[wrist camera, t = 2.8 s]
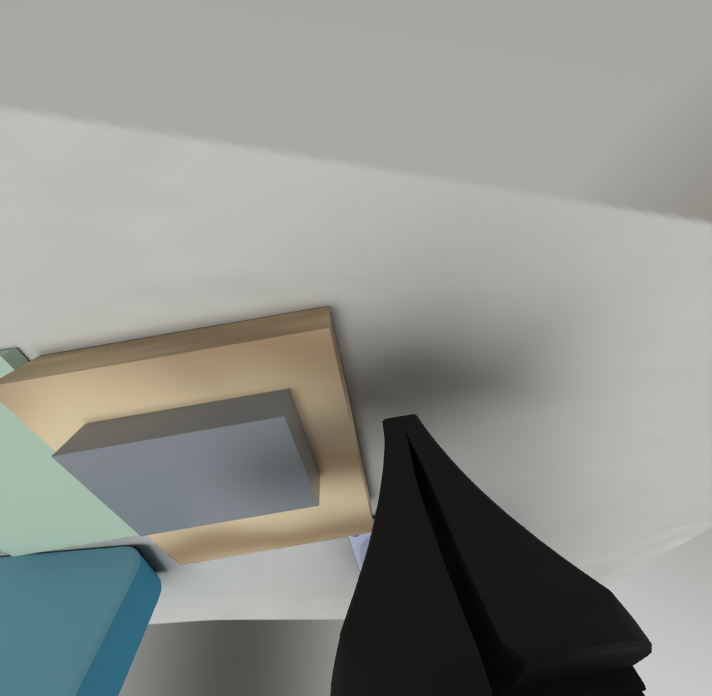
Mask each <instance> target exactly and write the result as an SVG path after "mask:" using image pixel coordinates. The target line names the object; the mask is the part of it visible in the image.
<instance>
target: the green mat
mask: <svg viewBox="0 0 712 696" xmlns="http://www.w3.org/2000/svg"><path fill="white" fill-rule="evenodd" d="M28 362H29V361H28V360H27V359H26V358H25V357H24V355H23V354H22V353H21V352H20V351H19V350H18V349H17V348H14V349H8V350H2V351H0V378H2V377H3V376H5V375H7V374H9V373H10V372H12V371H14V370H16V369H17V368H19V367H21V366H23V365H24V364H26V363H28ZM54 453H55V451H54V450H53V449H52V448H51V447H50V446H49V445H47V444H46V443H45V442H44V441H43V440H42V439H41V438H40V437H39V436H38V435H37V434H35V433H34V432H33V431H32V430H31V429H30V428H29V427H28V426H27V425H26V424H24V423H23V422H22V421H21V420H20V419H19V418H18V417H17V416H16V415H15V414H14V413H12V412H11V411H10V410H9V409H8V408H7V407H6V406H5V405H4V404H3V403H1V402H0V550H2V551H4V552H5V553H7V554H9V555H11V556H12V557H14V556H20V555H26V554H32V553H38V552H43V551H49V550H55V549H61V548H67V547H72V546H78V545H84V544H90V543H96V542H101V541H107V540H113V539H119V538H125V537H130V536H136V535H139V534H138V533H136V532H135V531H134V530H133V529H132V528H131V527H130V526H129V525H127V524H126V523H125V522H124V521H123V520H122V519H121V518H120V517H118V516H117V515H116V514H115V513H114V512H113V511H112V510H111V509H109V508H108V507H107V506H106V505H105V504H104V503H103V502H102V501H100V500H99V499H98V498H97V497H96V496H95V495H94V494H93V493H91V492H90V491H89V490H88V489H87V488H86V487H85V486H84V485H83V484H81V483H80V482H79V481H78V480H77V479H76V478H75V477H74V476H72V475H71V474H70V473H69V472H68V471H67V470H66V469H65V468H63V467H62V466H61V465H60V464H59V463H58V462H57V461H56V460H54V459H53V458H52V457H51V456H52V455H53V454H54Z"/></svg>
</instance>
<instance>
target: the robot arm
mask: <svg viewBox="0 0 712 696" xmlns="http://www.w3.org/2000/svg"><path fill="white" fill-rule="evenodd" d="M383 429H384V437H385V450H384V464H383V473H382V481H381V488H380V494H379V500H378V505H377V510H376V515H375V519H373V528H372V532H371V533H365V534H359V535H353V536H349V539H350V542H351V545H352V548H353V551H354V554H355V557H356V560H357V563H358V566H359V569H360V575H359V579H358V582H357V585H356V589H355V592H354V595H353V598H352V600H351V603H350V606H349V609H348V612H347V615H346V618H345V621H344V624H343V626H342V629H341V633H340V639H339V644H338V648H337V653H336V658H335V663H334V669H333V674H332V682H331V695H330V696H645V695H644V694H643V692H642V691H644V690H646V688H645V685H644V683H643V682H642V680H641V678H640V677H639V675H638V674H637V672H636V670H635V669H634V667H633V665H634V664H636V663H638V662H639V661H641V660H642V659H644V658H645V657H647V656H648V655H649V654H650V653H651V650H652V648H651V647H652V644H651V642H650V641H649V639H648V638H647V637H646V635H645V634H644V632H643V631H642V630H641V628H640V627H639V625H638V624H637V623H636V621H635V620H634V619H633V618H632V616H631V615H630V614H629V613H628V611H627V610H626V609H625V608H624V607H623V605H622V604H621V603H620V602H619V601H618V599H617V598H616V597H615V596H614V594H613V593H612V592H611V591H610V590H609V589H607V588H606V587H604V586H603V585H601V584H600V583H598V582H597V581H596V580H594V579H593V578H591V577H590V576H588V575H587V574H585V573H584V572H583V571H581V570H580V569H578V568H577V567H576V566H574V565H573V564H571V563H570V562H568V561H567V560H566V559H564V558H563V557H562V556H560V555H559V554H558V553H556V552H555V551H554V550H552V549H551V548H550V547H548V546H547V545H546V544H544V543H543V542H542V541H540V540H539V539H538V538H537V537H535V536H534V535H533V534H532V533H530V532H529V531H528V530H527V529H525V528H524V527H523V526H522V525H520V524H519V523H518V522H517V521H515V520H514V519H513V518H512V517H510V516H509V515H508V514H507V513H506V512H505V511H504V510H502V509H501V508H500V507H499V506H498V505H497V504H496V503H494V502H493V501H492V500H491V499H490V498H489V497H488V496H487V495H486V494H485V493H484V492H482V491H481V490H480V489H479V488H478V487H477V486H476V485H475V484H474V483H473V482H472V481H471V480H470V479H469V478H468V477H467V476H466V475H465V474H464V473H463V472H462V471H461V470H460V469H459V467H458V466H457V465H456V464H455V463H454V462H453V461H452V460H451V459H450V458H449V456H448V455H447V454H446V453H445V452H444V451H443V449H442V448H441V447H440V446H439V445H438V443H437V442H436V441H435V440H434V439H433V437H432V436H431V435H430V433H429V432H428V431H427V429H426V428H425V427H424V425H423V424H422V422H421V421H420V419H419V418H418V416H417V415H415V414H412V415H406V416H400V417H394V418H388V419H385V420H384V421H383Z"/></svg>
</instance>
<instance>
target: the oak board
mask: <svg viewBox="0 0 712 696" xmlns="http://www.w3.org/2000/svg"><path fill="white" fill-rule="evenodd" d="M289 388H290V391H291V394H292V396H293V399H294V402H295V405H296V408H297V411H298V413H299V416H300V419H301V422H302V425H303V428H304V430H305V433H306V436H307V439H308V442H309V445H310V448H311V450H312V453H313V456H314V459H315V462H316V465H317V467H318V470H319V473H320V496H319V506H314V507H309V508H303V509H297V510H291V511H285V512H280V513H274V514H268V515H262V516H256V517H251V518H245V519H239V520H233V521H227V522H222V523H216V524H210V525H204V526H198V527H193V528H187V529H181V530H175V531H169V532H164V533H158V534H152V535H147V536H148V537H149V538H150V539H151V540H153V541H154V542H155V543H156V544H157V545H158V546H159V547H160V548H161V549H162V550H163V551H165V552H166V553H167V554H168V555H169V556H170V557H171V558H172V559H173V560H174V561H176V562H177V563H178V564H179V565H185V564H191V563H197V562H203V561H208V560H214V559H220V558H226V557H232V556H237V555H243V554H249V553H255V552H261V551H266V550H272V549H278V548H284V547H290V546H295V545H301V544H307V543H313V542H319V541H324V540H330V539H336V538H342V537H348V536H353V535H359V534H365V533H371V532H372V528H373V516H372V509H371V502H370V496H369V491H368V487H367V482H366V477H365V473H364V468H363V463H362V458H361V454H360V449H359V444H358V440H357V435H356V430H355V425H354V421H353V416H352V411H351V407H350V402H349V397H348V392H347V388H346V383H345V378H344V374H343V369H342V364H341V359H340V355H339V350H338V345H337V341H336V336H335V331H334V327H333V322H332V317H331V312H330V308H329V306H328V307H322V308H316V309H310V310H304V311H299V312H293V313H287V314H281V315H275V316H270V317H264V318H258V319H252V320H246V321H241V322H235V323H229V324H223V325H217V326H212V327H206V328H200V329H194V330H188V331H183V332H177V333H171V334H165V335H159V336H154V337H148V338H142V339H136V340H130V341H125V342H119V343H113V344H107V345H101V346H96V347H90V348H84V349H78V350H72V351H67V352H61V353H55V354H49V355H43V356H38V357H36V358H35V359H33V360H31V361H29V362H28V363H26V364H24V365H23V366H21V367H19V368H17V369H16V370H14V371H12V372H10V373H9V374H7V375H5V376H3V377H2V378H0V402H1V403H3V404H4V405H5V406H6V407H7V408H8V409H9V410H10V411H11V412H12V413H14V414H15V415H16V416H17V417H18V418H19V419H20V420H21V421H22V422H23V423H24V424H26V425H27V426H28V427H29V428H30V429H31V430H32V431H33V432H34V433H35V434H37V435H38V436H39V437H40V438H41V439H42V440H43V441H44V442H45V443H46V444H47V445H49V446H50V447H51V448H52V449H53V450H54V451H55V452H56V451H57V450H58V449H59V448H60V447H61V446H63V445H64V444H65V443H66V442H67V441H68V440H69V439H70V438H71V437H72V436H73V435H74V434H75V433H76V432H77V431H78V430H79V429H80V428H81V427H82V426H83V425H84V424H86V423H91V422H97V421H103V420H109V419H115V418H120V417H126V416H132V415H138V414H144V413H149V412H155V411H161V410H167V409H173V408H178V407H184V406H190V405H196V404H202V403H207V402H213V401H219V400H225V399H231V398H236V397H242V396H248V395H254V394H260V393H265V392H271V391H277V390H283V389H289Z"/></svg>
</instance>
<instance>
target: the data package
mask: <svg viewBox="0 0 712 696" xmlns="http://www.w3.org/2000/svg"><path fill="white" fill-rule="evenodd" d="M160 592H161V581H160V578H159V577H158V575H157V574H156V573H155V572H154V571H153V569H152V568H151V567H150V566H149V564H148V563H147V562H146V561H145V560H144V558H143V557H142V556H141V555H140V553H139V552H138V551H137V550H136V549H135V548H133V547H130V546H120V547H109V548H97V549H86V550H74V551H63V552H51V553H40V554H28V555H20V556H14V557H12V556H5V557H0V696H118V695H119V693H120V690H121V688H122V686H123V683H124V681H125V678H126V676H127V674H128V671H129V669H130V666H131V664H132V661H133V659H134V657H135V654H136V652H137V649H138V647H139V645H140V642H141V640H142V637H143V635H144V632H145V630H146V627H147V625H148V623H149V620H150V618H151V616H152V613H153V611H154V608H155V606H156V604H157V601H158V599H159V596H160Z"/></svg>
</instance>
